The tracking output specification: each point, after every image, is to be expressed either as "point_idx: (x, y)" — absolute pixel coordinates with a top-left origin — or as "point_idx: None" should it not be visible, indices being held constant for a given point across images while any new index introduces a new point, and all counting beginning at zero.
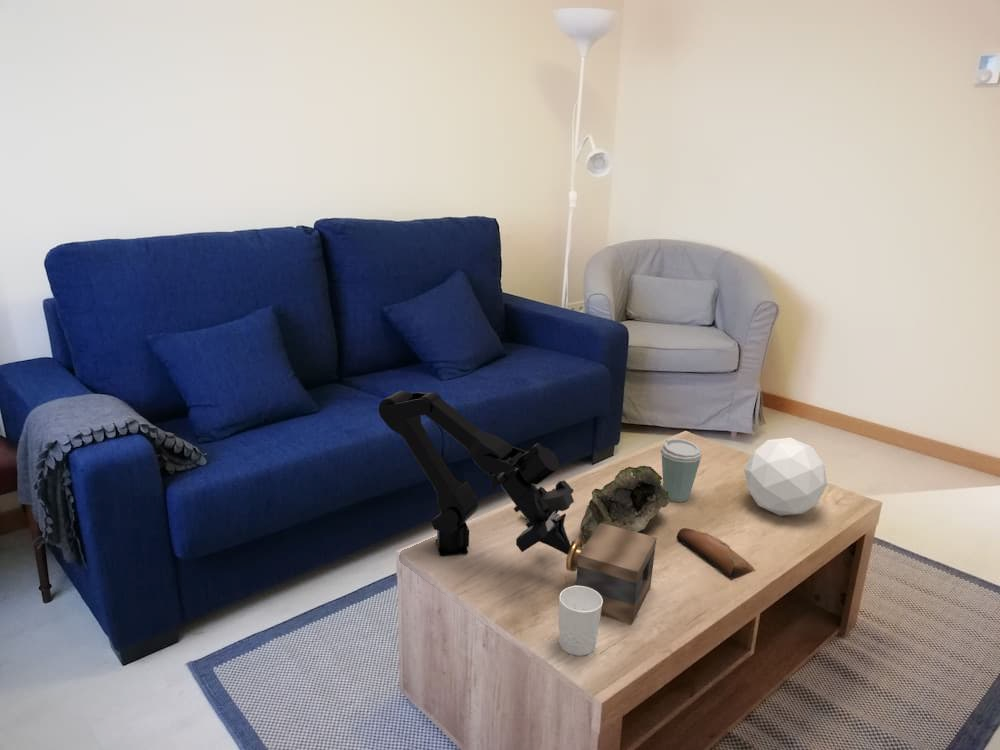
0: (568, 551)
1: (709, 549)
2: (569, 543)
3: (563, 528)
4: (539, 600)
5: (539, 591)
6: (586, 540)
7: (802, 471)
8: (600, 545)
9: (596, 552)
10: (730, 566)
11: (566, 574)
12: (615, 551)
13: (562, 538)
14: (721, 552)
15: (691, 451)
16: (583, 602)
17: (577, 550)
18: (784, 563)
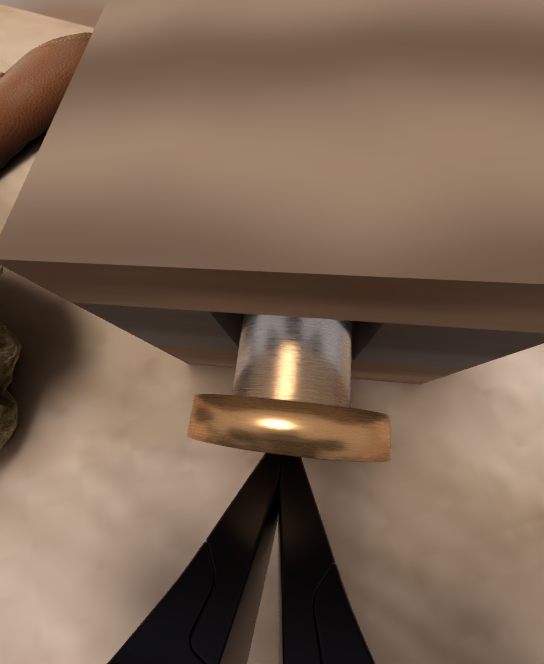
0: (377, 460)
1: (34, 89)
2: (253, 483)
3: (159, 641)
4: (456, 527)
5: (397, 545)
6: (6, 439)
7: None
8: (374, 163)
9: (508, 162)
10: None
11: (238, 462)
12: (397, 65)
13: (303, 579)
14: (49, 59)
15: None
16: None
17: (312, 399)
18: (48, 23)
